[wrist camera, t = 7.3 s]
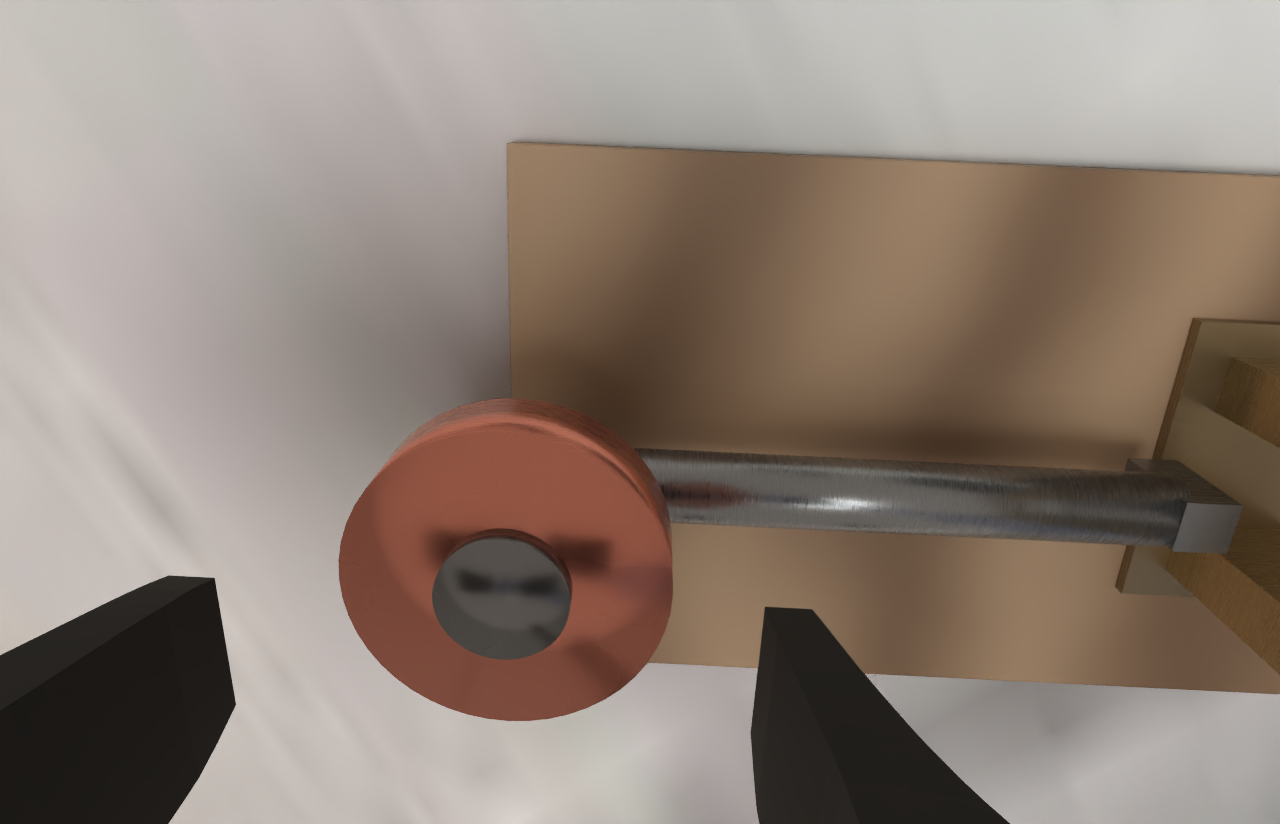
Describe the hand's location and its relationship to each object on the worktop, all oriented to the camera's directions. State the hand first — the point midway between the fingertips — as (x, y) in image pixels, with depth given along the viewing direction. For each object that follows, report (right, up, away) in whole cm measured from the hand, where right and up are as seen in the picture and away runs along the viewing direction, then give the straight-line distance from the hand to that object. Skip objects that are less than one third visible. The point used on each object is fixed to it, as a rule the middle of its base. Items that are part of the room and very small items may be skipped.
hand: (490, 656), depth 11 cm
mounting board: (+9, +3, +8) cm, 12 cm away
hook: (+5, +2, +6) cm, 8 cm away
